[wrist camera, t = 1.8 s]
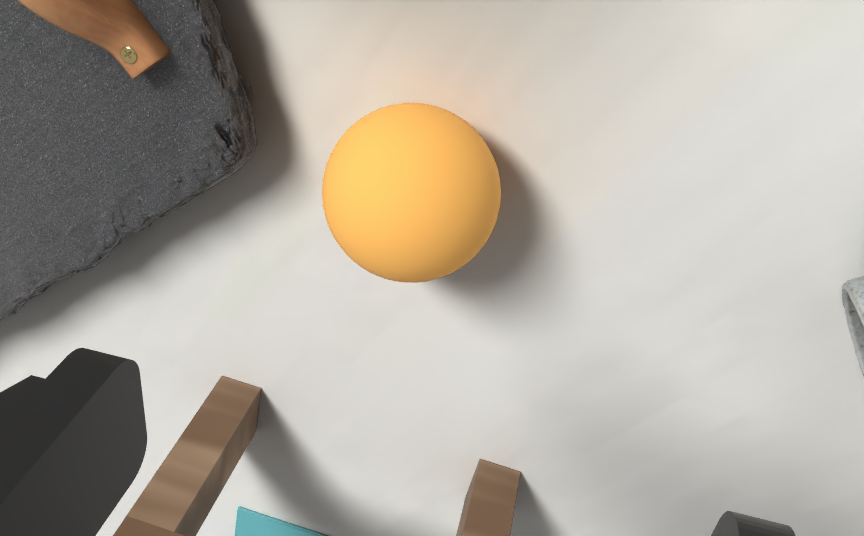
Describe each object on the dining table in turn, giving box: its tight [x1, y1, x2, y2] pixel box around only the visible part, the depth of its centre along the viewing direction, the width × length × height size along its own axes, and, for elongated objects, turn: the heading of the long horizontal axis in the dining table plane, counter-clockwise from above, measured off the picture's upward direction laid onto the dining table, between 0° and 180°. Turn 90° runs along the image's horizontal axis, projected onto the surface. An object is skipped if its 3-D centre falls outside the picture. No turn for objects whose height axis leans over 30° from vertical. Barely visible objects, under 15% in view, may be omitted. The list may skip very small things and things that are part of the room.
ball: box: [322, 103, 501, 282], centre depth 26 cm, size 6×6×6 cm
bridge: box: [113, 376, 520, 536], centre depth 34 cm, size 3×15×10 cm, turn 78°
